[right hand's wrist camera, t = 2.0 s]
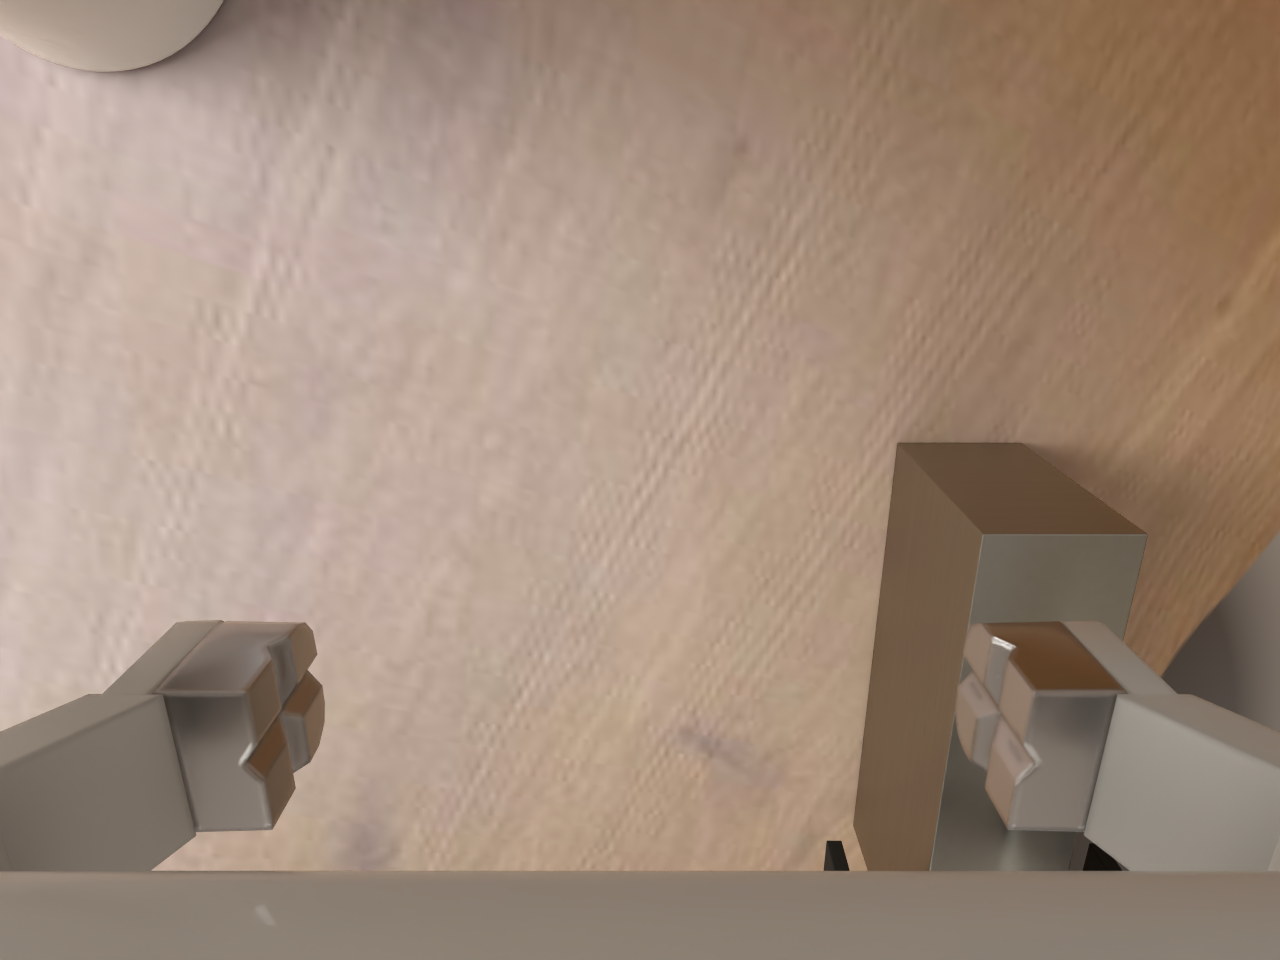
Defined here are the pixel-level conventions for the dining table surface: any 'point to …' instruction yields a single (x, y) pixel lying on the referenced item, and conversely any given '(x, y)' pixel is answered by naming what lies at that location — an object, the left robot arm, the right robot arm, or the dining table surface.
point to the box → (937, 627)
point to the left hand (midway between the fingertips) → (961, 861)
